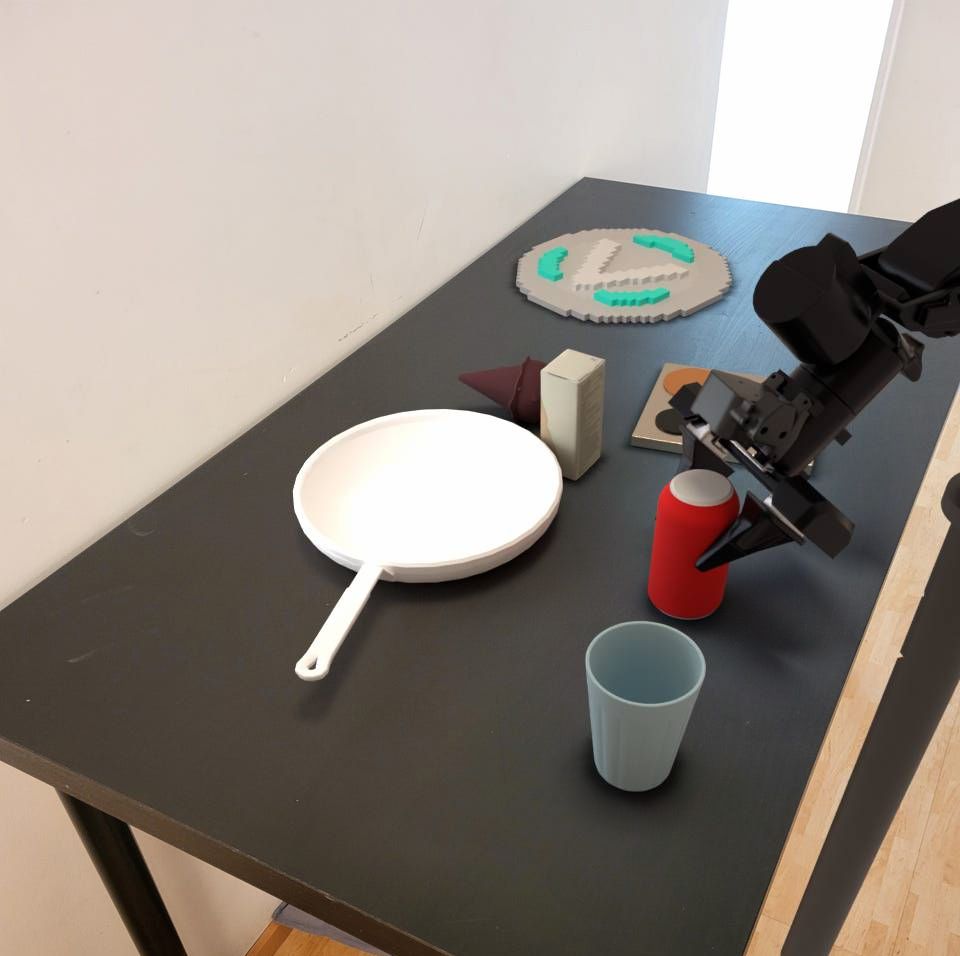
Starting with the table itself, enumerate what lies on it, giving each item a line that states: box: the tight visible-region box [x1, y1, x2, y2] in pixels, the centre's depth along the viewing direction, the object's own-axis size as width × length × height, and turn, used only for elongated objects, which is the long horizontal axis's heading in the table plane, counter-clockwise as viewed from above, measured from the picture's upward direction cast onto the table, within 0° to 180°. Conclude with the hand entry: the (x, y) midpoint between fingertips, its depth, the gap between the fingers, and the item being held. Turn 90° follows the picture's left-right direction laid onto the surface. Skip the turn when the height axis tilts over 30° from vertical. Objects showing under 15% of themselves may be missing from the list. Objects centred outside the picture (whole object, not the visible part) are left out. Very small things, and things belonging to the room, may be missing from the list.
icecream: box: [457, 355, 549, 424], centre depth 99 cm, size 7×7×15 cm
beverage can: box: [647, 469, 741, 621], centre depth 75 cm, size 6×6×12 cm
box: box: [540, 348, 606, 481], centre depth 91 cm, size 5×4×11 cm
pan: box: [292, 408, 564, 682], centre depth 83 cm, size 25×39×4 cm, turn 162°
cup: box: [584, 620, 707, 792], centre depth 64 cm, size 8×8×10 cm
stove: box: [630, 362, 815, 476], centre depth 99 cm, size 18×16×1 cm
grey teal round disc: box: [515, 227, 733, 324], centre depth 125 cm, size 28×28×2 cm
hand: (677, 545), depth 74 cm, fingers closed on beverage can, 6 cm apart
